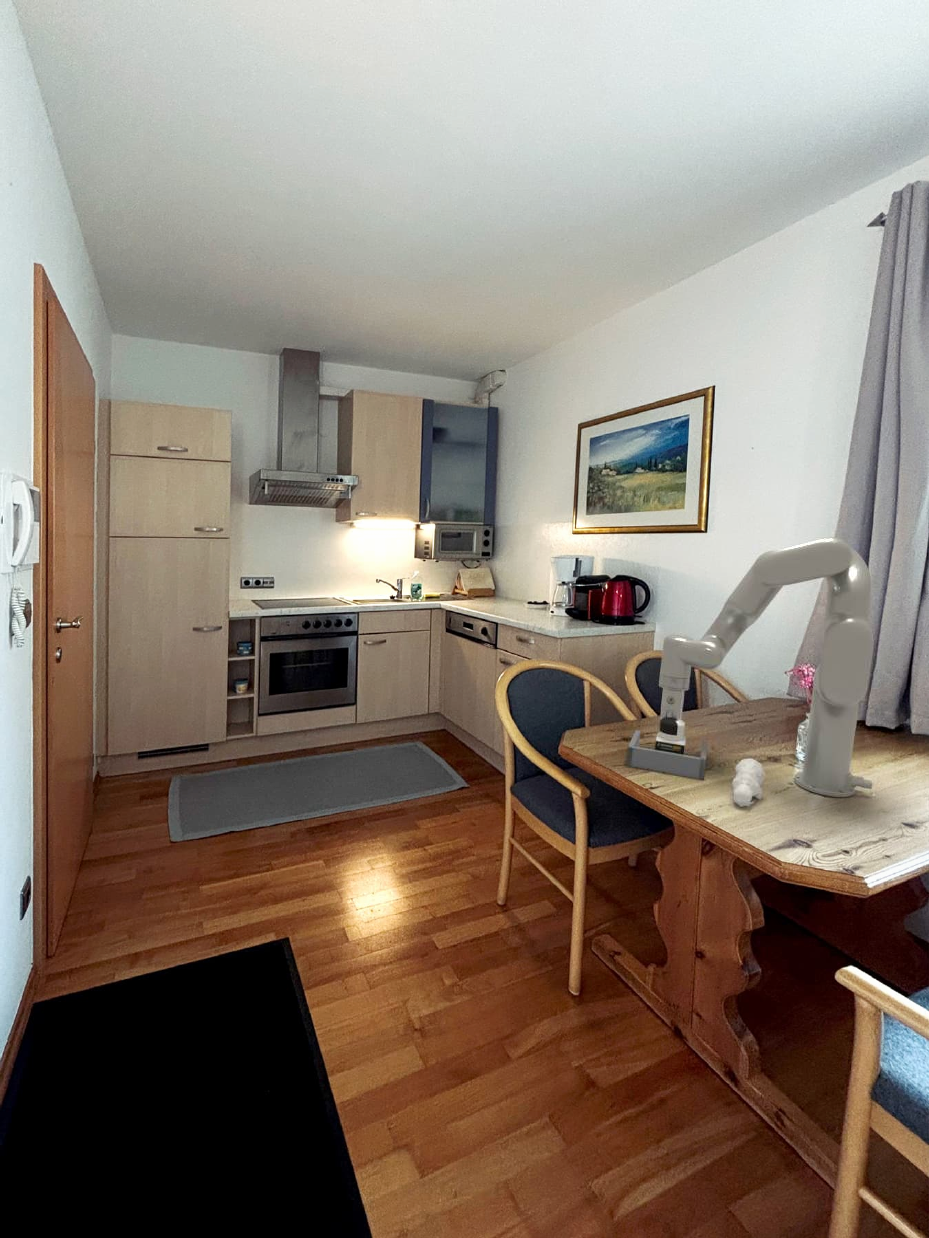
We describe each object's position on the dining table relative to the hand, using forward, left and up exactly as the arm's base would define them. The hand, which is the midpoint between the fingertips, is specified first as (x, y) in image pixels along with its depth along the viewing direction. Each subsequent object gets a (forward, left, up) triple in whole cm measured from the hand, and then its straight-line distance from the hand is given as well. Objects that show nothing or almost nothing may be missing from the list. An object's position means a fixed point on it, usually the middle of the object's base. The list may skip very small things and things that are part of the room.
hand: (666, 747), depth 162 cm
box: (-1, +5, -2) cm, 5 cm away
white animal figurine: (-19, +21, -2) cm, 28 cm away
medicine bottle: (-1, +7, -2) cm, 7 cm away
